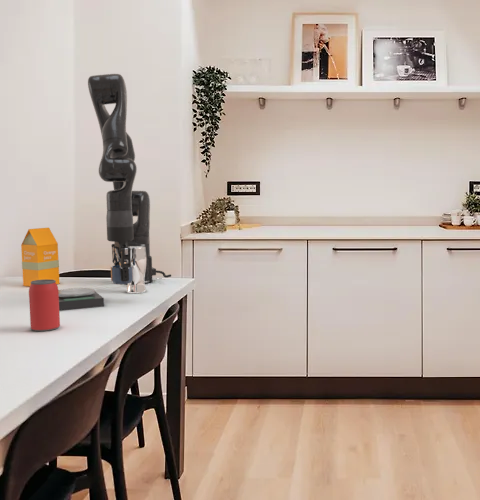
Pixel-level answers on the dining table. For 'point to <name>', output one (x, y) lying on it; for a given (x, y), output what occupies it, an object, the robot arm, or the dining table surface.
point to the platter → (75, 292)
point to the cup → (117, 275)
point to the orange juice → (39, 256)
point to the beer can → (44, 305)
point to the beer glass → (137, 269)
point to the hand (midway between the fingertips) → (122, 279)
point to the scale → (81, 302)
